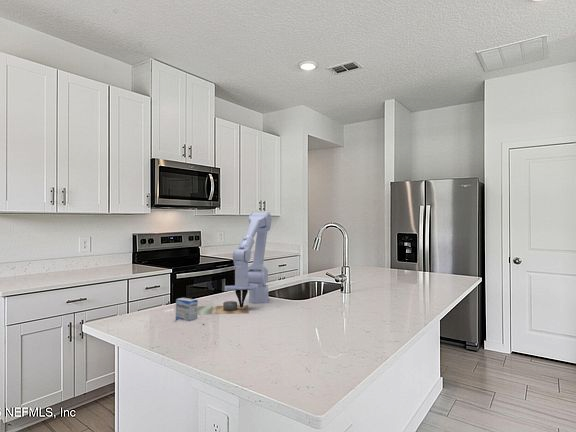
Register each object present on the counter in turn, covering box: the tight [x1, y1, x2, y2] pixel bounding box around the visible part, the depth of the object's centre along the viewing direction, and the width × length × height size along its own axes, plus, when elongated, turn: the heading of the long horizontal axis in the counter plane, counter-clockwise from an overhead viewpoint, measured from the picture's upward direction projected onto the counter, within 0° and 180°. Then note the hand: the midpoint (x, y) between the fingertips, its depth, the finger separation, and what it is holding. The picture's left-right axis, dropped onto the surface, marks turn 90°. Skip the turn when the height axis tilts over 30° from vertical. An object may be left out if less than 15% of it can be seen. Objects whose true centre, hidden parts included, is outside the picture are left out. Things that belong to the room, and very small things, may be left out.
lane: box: [197, 304, 249, 316], centre depth 165 cm, size 28×14×1 cm, turn 97°
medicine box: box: [175, 297, 199, 322], centre depth 152 cm, size 8×4×9 cm, turn 62°
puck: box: [222, 300, 238, 311], centre depth 166 cm, size 6×6×3 cm
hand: (241, 306), depth 167 cm, fingers closed
